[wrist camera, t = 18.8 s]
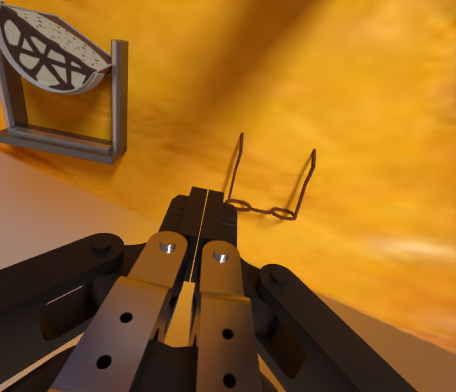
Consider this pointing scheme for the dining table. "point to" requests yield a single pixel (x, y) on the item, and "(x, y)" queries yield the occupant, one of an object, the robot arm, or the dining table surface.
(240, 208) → the glasses
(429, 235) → the dining table surface
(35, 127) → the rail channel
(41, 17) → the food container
